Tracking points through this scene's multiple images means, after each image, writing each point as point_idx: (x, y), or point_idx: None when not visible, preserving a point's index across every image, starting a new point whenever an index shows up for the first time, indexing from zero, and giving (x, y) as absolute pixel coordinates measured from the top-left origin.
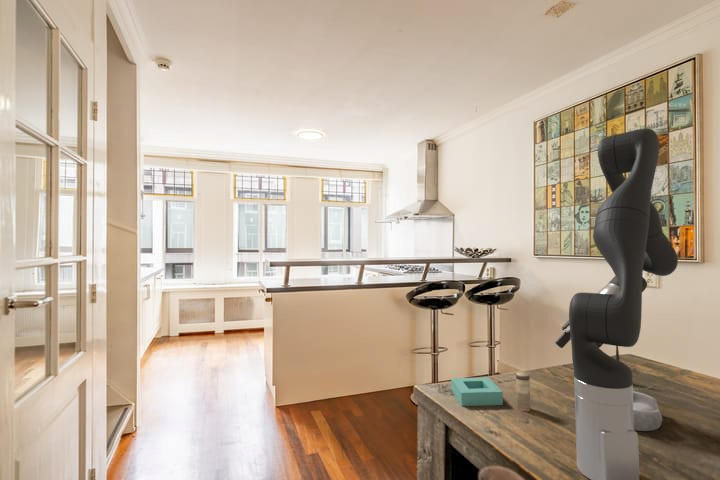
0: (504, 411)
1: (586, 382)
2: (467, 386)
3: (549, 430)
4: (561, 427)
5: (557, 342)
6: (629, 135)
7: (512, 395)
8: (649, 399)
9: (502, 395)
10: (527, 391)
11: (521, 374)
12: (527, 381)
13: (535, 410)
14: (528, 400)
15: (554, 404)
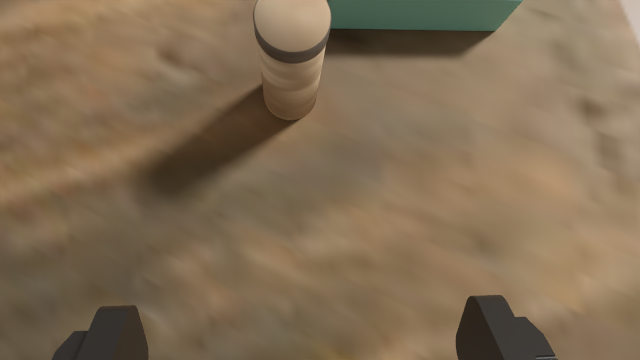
0: None
1: None
2: None
3: (92, 107)
4: (111, 164)
5: (474, 306)
6: None
7: (428, 104)
8: None
9: (332, 5)
10: (260, 66)
11: (280, 3)
12: (258, 43)
13: (270, 134)
14: (265, 88)
15: (328, 243)
